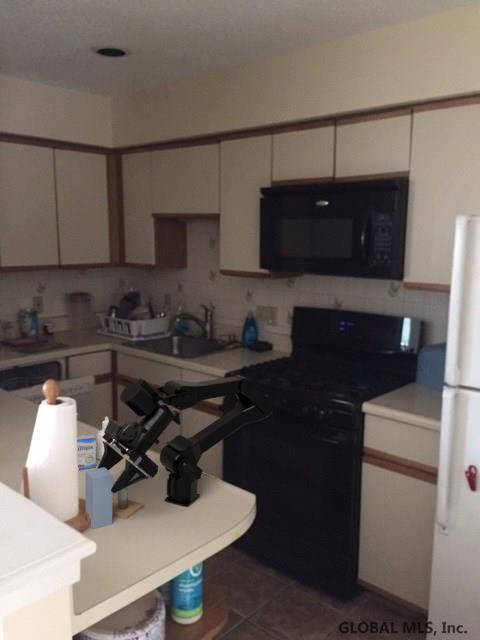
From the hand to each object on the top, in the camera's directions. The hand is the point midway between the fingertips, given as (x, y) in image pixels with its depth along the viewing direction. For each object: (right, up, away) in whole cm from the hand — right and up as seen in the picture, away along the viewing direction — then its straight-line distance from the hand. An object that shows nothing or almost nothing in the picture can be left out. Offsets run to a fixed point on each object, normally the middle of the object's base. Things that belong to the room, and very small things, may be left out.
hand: (104, 484), depth 125 cm
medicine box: (-14, -4, +30) cm, 33 cm away
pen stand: (+3, -8, +7) cm, 11 cm away
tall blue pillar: (-1, -9, +1) cm, 9 cm away
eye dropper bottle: (-8, -3, +37) cm, 38 cm away
